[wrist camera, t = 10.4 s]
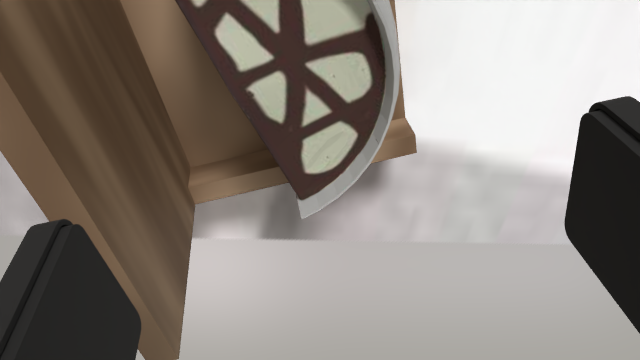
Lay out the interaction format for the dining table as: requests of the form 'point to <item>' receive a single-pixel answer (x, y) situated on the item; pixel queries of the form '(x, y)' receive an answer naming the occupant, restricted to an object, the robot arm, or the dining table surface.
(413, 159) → the dining table surface
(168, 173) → the low wooden shelf
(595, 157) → the robot arm
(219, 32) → the food container
